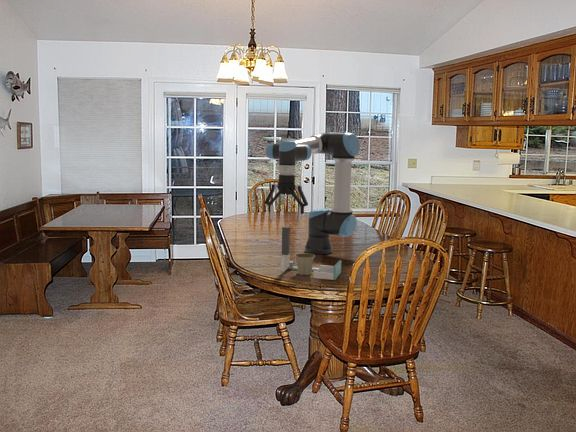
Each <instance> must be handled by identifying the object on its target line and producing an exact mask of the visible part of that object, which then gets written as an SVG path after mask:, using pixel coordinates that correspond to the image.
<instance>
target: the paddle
mask: <svg viewBox="0 0 576 432" xmlns="http://www.w3.org/2000/svg"><path fill="white" fill-rule="evenodd" d="M290 241H291V226H286V225H284V226H282V227H281V256H280V272H285V271H287V270H288V269H287V268H289V267H292V266H294V265H295V263H294V261H293V260H292V261H291V252H290V251H291V249H290V247H291V245H290V243H291V242H290Z"/></svg>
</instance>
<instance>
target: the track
mask: <svg viewBox="0 0 576 432" xmlns="http://www.w3.org/2000/svg"><path fill="white" fill-rule="evenodd" d="M286 270H291V271H292V270H294V271H298V269H297V265H296V266H292V267H289V268H287V269H286ZM314 271H318V272H320V267H319V268H318V267H312V271H311V272H314Z"/></svg>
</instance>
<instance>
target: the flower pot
mask: <svg viewBox="0 0 576 432" xmlns="http://www.w3.org/2000/svg"><path fill="white" fill-rule="evenodd" d="M294 257H295V260H296V266H297V269H298V270H297V274H298V275H301V276H304V275H306V276H309V275H312V272H313V271H312V268H313V265H314V264H313V263H314V259H315V257H316V254H312V253H307V252H306V253H305V252H304V253H303V252H302V253H297V254H294Z"/></svg>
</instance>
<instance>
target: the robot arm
mask: <svg viewBox="0 0 576 432" xmlns="http://www.w3.org/2000/svg"><path fill="white" fill-rule="evenodd" d="M360 146H361V145H360V140H359V138H358V136H357V135H356V134H355V133H352V132H347V131H346V132H331V131H329V132H322V133H319V134H313V135H310V136H309V137H308V138H303V139H297V140H280V141H279V142H278V143H276V142H274V143H269V144H268V145H267V146H266V148H265V152H266V153H265V154H266V157H267V158H268V159H272V160H278V184H276V183H273V184H271V188H270V190H269V193H268V194H267V197H266V198H265V200H264V204H265V205H268V213H269V215H270V216H269V219H270V220H274V213H275V211H274V209H275V208H274V207H275V206H274V203H275V202H276V201H277V200H278V198H279V197H280V196H281V195H286V196H287V195H288V196H290V195H291V197H293V199H294V200H295V201H296V203H297V204H298V205H299V207H298V222H301V221H303V220H302V219H303V214H304V213H305V207H307V206H308V205H309V202H308V201H307V198H306V195H305V193H304V192H303V188H302V187H303V186H302V185H296V175H295V174H296V161H297V162H298V161H299V162H300V161H302V162H304V161H308V160H310V159H311V156H312V154H314V155H316V154H323V155H332V157H331V158H332V159H333V161H334V184H333V206H332V208H331V209H330V208H321V209H313V210H309V212H308V222H307V223H308V229H307V230H308V231H307V232H308V233H307V236H308V237H307V239H306V242H305V245H304V253H305V252H306V253H308V254H313V255H328V254H331V253H333V245H332V242H331V237H330V236H331V235H334V236H339V237H349V236H352V235H353V233H354V232H355V230H356V227H357V222H358V221H357V217H356V216H355V214H353V209H352V208H351V187H352V186H351V183H352V163H353V161H354V160H355V158H356V156H357V155H359V154H360V153H359V151H360ZM295 189H296V190H297V191H298V194H299V196H300V197H299V196H298V195H297V193H296V192H295ZM275 190H278V191H277V193H276V194H275V195H274V192H275ZM273 195H274V196H273ZM272 197H273V198H272ZM271 198H272V199H271Z"/></svg>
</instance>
